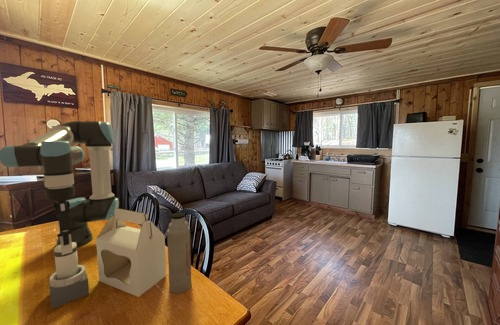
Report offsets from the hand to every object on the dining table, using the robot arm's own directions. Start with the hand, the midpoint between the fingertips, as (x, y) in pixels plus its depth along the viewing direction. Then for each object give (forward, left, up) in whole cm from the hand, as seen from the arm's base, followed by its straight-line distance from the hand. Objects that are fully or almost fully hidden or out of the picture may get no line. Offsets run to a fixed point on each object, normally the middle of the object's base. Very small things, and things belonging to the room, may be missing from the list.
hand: (65, 245), depth 75 cm
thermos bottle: (+23, +31, -18) cm, 43 cm away
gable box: (+6, +19, -18) cm, 27 cm away
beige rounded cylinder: (0, 0, -12) cm, 12 cm away
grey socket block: (0, 0, -18) cm, 18 cm away
